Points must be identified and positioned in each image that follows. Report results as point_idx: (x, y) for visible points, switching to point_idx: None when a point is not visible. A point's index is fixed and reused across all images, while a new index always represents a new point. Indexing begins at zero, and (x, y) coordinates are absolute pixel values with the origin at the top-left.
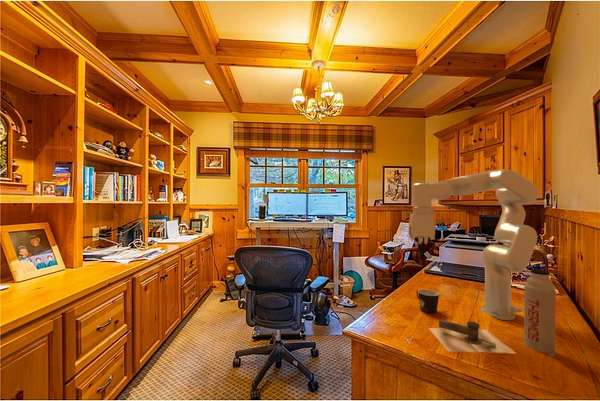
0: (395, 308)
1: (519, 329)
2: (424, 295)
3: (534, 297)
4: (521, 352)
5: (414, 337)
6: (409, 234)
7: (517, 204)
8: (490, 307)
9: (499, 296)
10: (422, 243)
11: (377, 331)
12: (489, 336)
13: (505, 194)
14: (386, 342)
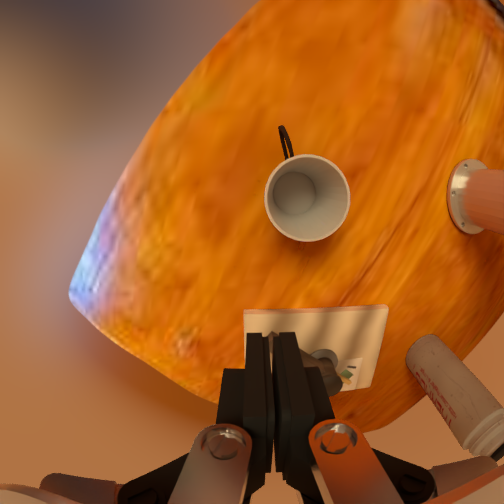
0: (193, 152)
1: (459, 275)
2: (277, 228)
3: (454, 434)
4: (390, 364)
5: (199, 335)
6: (6, 493)
7: None
8: (468, 209)
9: (500, 232)
10: (288, 455)
11: (118, 309)
12: (372, 338)
13: None
14: (135, 351)
